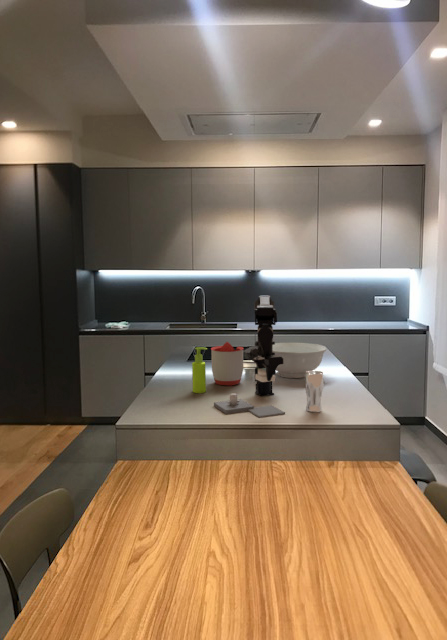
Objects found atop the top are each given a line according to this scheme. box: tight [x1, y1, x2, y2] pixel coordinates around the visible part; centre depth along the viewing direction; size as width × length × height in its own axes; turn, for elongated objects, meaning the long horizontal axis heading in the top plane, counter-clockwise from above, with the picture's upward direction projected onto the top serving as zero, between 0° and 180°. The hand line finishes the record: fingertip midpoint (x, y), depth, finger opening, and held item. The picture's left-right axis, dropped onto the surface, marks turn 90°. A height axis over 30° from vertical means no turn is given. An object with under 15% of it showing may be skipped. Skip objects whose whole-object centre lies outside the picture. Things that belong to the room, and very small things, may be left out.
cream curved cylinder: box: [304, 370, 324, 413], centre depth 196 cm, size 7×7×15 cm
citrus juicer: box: [210, 341, 245, 387], centre depth 243 cm, size 16×17×20 cm
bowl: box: [272, 342, 327, 379], centre depth 258 cm, size 32×32×15 cm
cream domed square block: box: [254, 368, 276, 382], centre depth 194 cm, size 6×6×4 cm
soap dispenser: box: [191, 346, 208, 394], centre depth 227 cm, size 6×7×20 cm
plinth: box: [213, 392, 255, 415], centre depth 201 cm, size 12×12×6 cm
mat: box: [247, 404, 286, 419], centre depth 196 cm, size 11×11×1 cm
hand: (265, 379), depth 194 cm, fingers closed on cream domed square block, 6 cm apart
